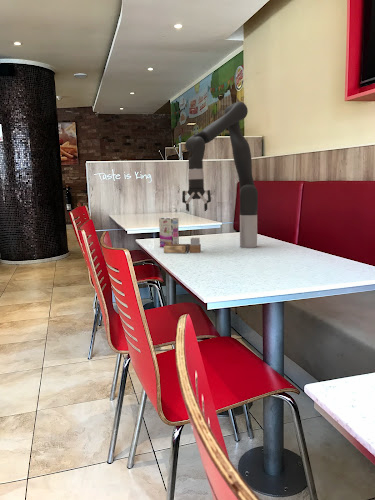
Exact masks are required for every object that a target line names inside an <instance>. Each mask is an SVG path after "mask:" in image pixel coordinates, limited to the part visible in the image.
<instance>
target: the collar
mask: <svg viewBox="0 0 375 500" xmlns="http://www.w3.org/2000/svg"><path fill="white" fill-rule="evenodd" d="M200 241H201V239H200V237H191V238H190V244H191V246H199V245H200V244H201V243H200Z"/></svg>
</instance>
